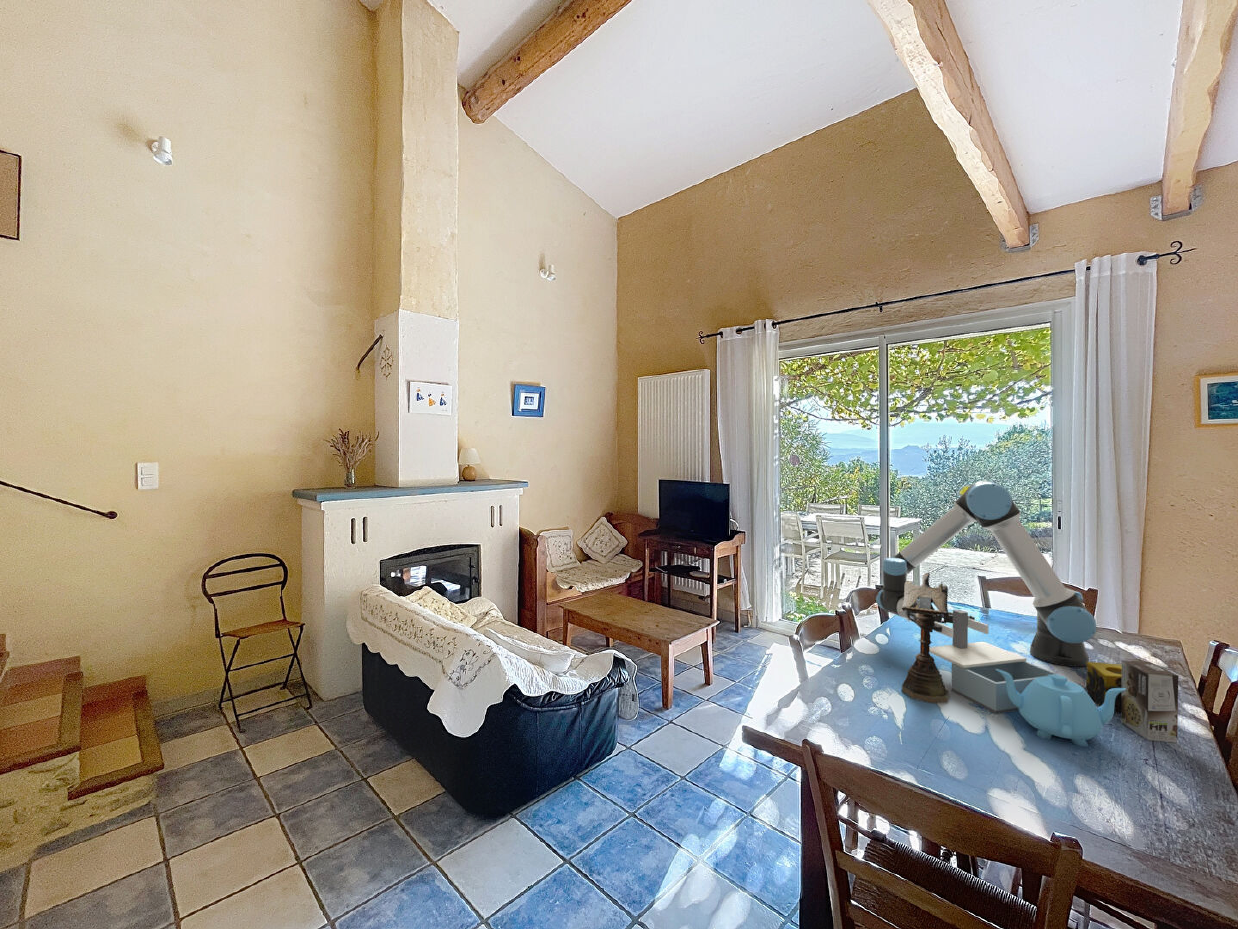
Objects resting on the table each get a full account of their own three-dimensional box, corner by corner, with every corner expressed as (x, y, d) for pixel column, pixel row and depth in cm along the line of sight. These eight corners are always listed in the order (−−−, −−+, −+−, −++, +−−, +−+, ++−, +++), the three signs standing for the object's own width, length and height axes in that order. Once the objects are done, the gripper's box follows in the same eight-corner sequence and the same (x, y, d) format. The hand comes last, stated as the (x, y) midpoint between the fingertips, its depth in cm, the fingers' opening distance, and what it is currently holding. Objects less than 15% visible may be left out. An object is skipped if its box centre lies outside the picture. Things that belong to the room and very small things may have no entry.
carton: (1012, 683, 158) (1013, 656, 158) (1061, 704, 145) (1061, 675, 144) (951, 690, 153) (951, 663, 153) (995, 714, 140) (996, 683, 140)
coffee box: (1179, 743, 125) (1180, 676, 125) (1147, 740, 127) (1148, 673, 126) (1149, 724, 134) (1150, 661, 134) (1119, 721, 136) (1120, 659, 135)
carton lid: (983, 644, 168) (983, 607, 168) (1026, 661, 154) (1026, 620, 154) (924, 650, 163) (925, 612, 163) (963, 668, 149) (964, 626, 149)
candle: (1130, 700, 147) (1130, 665, 147) (1153, 718, 137) (1153, 679, 137) (1084, 695, 150) (1085, 660, 150) (1104, 712, 141) (1104, 674, 141)
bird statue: (953, 716, 139) (954, 583, 138) (897, 702, 146) (898, 576, 145) (956, 692, 152) (958, 571, 151) (905, 681, 160) (906, 565, 159)
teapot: (1126, 747, 124) (1127, 687, 124) (1056, 755, 121) (1057, 694, 120) (1057, 713, 140) (1058, 660, 140) (994, 720, 137) (994, 666, 136)
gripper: (945, 619, 184) (1002, 640, 163) (884, 624, 178) (935, 647, 157) (945, 597, 183) (1003, 616, 163) (884, 602, 178) (936, 622, 157)
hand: (970, 631), depth 160 cm, fingers open, 12 cm apart
